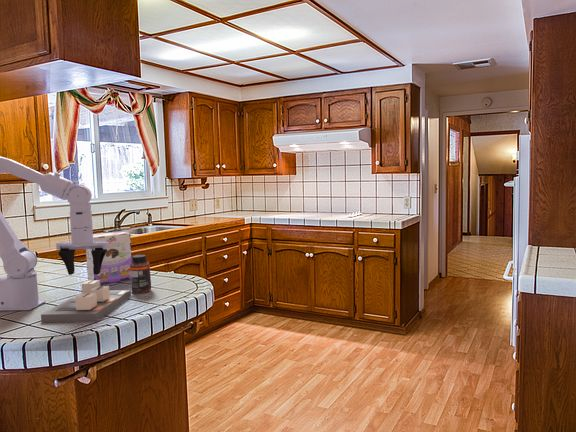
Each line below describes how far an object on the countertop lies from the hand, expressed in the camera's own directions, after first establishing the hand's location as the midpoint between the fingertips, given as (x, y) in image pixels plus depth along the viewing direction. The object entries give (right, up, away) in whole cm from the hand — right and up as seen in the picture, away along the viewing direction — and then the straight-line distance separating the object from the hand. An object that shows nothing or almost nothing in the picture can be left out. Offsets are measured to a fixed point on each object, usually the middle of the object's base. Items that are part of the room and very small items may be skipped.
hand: (84, 274), depth 132 cm
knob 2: (+8, -6, -7) cm, 12 cm away
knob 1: (+2, -6, +1) cm, 6 cm away
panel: (+5, -9, -7) cm, 12 cm away
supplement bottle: (+13, -7, +10) cm, 18 cm away
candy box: (-2, -6, +26) cm, 27 cm away
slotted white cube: (+7, -7, -15) cm, 18 cm away
